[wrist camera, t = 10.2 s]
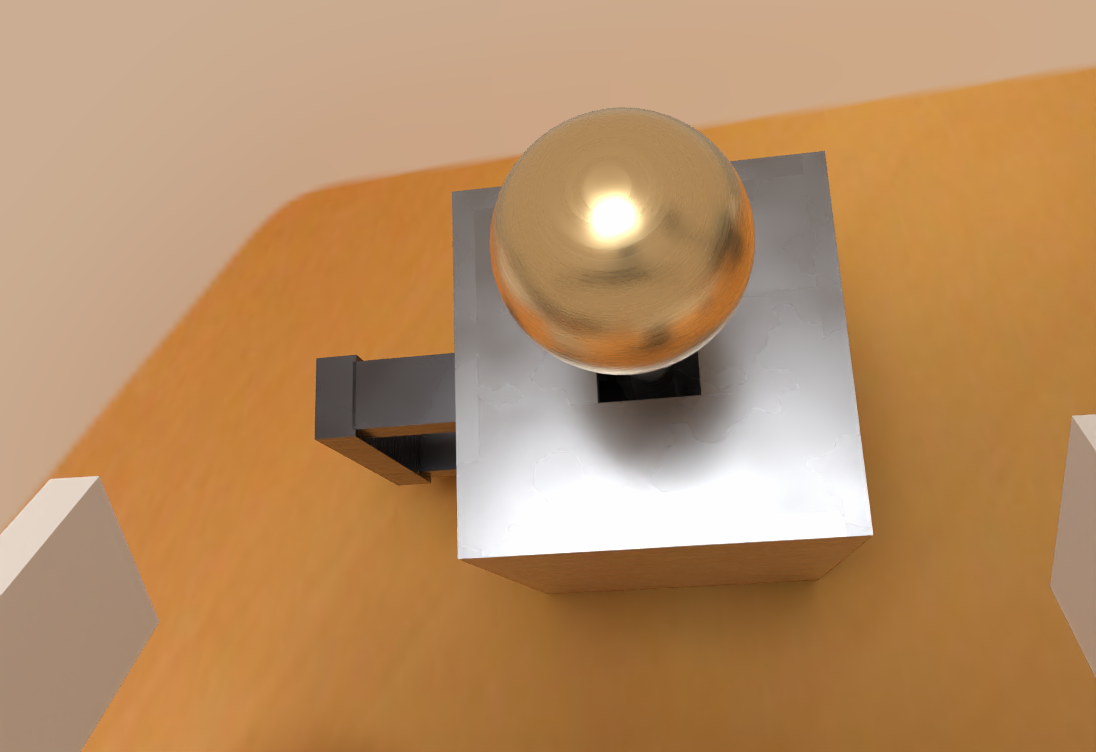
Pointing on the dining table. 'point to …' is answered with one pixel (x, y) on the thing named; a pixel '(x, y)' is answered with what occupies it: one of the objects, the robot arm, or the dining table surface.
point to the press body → (634, 424)
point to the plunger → (624, 248)
